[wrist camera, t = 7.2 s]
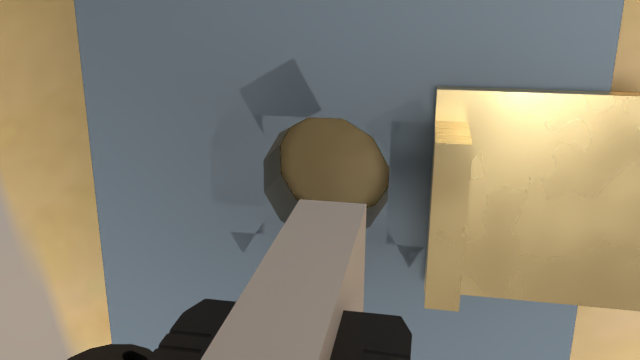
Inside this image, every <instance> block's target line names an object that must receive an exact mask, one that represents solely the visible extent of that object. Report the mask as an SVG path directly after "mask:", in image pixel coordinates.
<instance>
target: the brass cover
mask: <svg viewBox="0 0 640 360" xmlns="http://www.w3.org/2000/svg"><path fill="white" fill-rule="evenodd" d="M424 291H425V301H424V308H426V309H436V310H447V311H457V312H459V306H460V295H470V296H480V297H491V298H502V299H513V300H524V301H535V302H546V303H557V304H568V305H579V306H589V307H600V308H611V309H622V310H633V311H640V93H638V92H608V91H578V90H548V89H518V88H487V87H457V86H437V97H436V112H435V127H434V142H433V157H432V173H431V188H430V203H429V218H428V233H427V248H426V264H425V279H424Z"/></svg>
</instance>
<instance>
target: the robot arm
mask: <svg viewBox="0 0 640 360" xmlns="http://www.w3.org/2000/svg"><path fill="white" fill-rule="evenodd" d="M366 205H367V204H363V203H348V202H333V201H319V200H304V199H300V200H299V201H298V203H297V204H296V206H295V208H294V209H293V211H292V213H291V214H290V216H289V217H288V219H287V221H286V222H285V224H284V226H283V227H282V229H281V230H280V232H279V234H278V235H277V237H276V238H275V240H274V242H273V243H272V245H271V247H270V248H269V250H268V251H267V253H266V255H265V256H264V258H263V260H262V261H261V263H260V264H259V266H258V268H257V269H256V271H255V273H254V274H253V276H252V277H251V279H250V281H249V282H248V284H247V285H246V287H245V289H244V290H243V292H242V294H241V295H240V297H239V298H238V300H237V302H235V301H225V300H215V299H204V300H202V301H200V302H199V303H197V304H196V305H194V306H192V307H191V308H189V309H188V310H186V311H184V312H183V313H182V314H181V316H180V317H179V318H178V320H177V321H176V322H175V324H174V325H173V326H172V328H171V329H170V332H169V334H168V333H167V334H166V335H165V337H164V338H163V339H162V341H161V342H160V343H159V346H158V349H157V348H156V349H155V350H154V351H153V352H152V351H151V350H150V349H148V348H145V347H141V346H137V345H133V344H110V345H105V346H101V347H96V348H92V349H89V350H86V351H84V352H82V353H79V354H77V355H75V356H73V357H70V358H69V359H68V360H411V344H412V333H411V332H410V330H409V328H408V327H407V325H406V323H405V322H404V320H403V318H402V317H401V316H396V315H386V314H376V313H366V312H363V306H364V272H365V239H366Z"/></svg>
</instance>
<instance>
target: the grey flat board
mask: <svg viewBox="0 0 640 360" xmlns="http://www.w3.org/2000/svg"><path fill="white" fill-rule="evenodd" d="M74 5H75V14H76V23H77V32H78V41H79V50H80V59H81V68H82V77H83V86H84V95H85V104H86V113H87V122H88V131H89V140H90V149H91V158H92V167H93V177H94V186H95V195H96V204H97V213H98V222H99V231H100V240H101V249H102V258H103V267H104V276H105V285H106V294H107V303H108V312H109V321H110V330H111V339H112V344H133V345H137V346H141V347H145V348H148V349H150V350H151V351H152V352H153V351H154V350H155V349H156V348H157V349H158V346H159V343H160V342H161V341H162V339H163V338H164V337H165V335H166V334H167V333H168V334H169V332H170V329H171V328H172V326H173V325H174V324H175V322H176V321H177V320H178V318H179V317H180V316H181V314H182V313H183V312H184V311H186V310H188V309H189V308H191V307H192V306H194V305H196V304H197V303H199V302H200V301H202V300H204V299H215V300H225V301H235V302H237V300H238V298H239V297H240V295H241V294H242V292H243V290H244V289H245V287H246V285H247V284H248V282H249V281H250V279H251V277H252V276H253V274H254V273H255V271H256V269H257V268H258V266H259V264H260V263H261V261H262V260H263V258H264V256H265V255H266V253H267V251H268V250H269V248H270V247H271V245H272V243H273V242H274V240H275V238H276V237H277V235H278V234H279V232H280V230H281V229H282V227H283V226H284V224H285V222H286V221H287V219H288V217H289V216H290V214H291V213H292V211H293V209H294V208H295V206H296V204H297V203H298V200H297V199H295V197H294V195H293V194H292V192H291V190H290V189H289V187H288V185H287V183H286V182H285V180H284V178H283V176H282V175H281V155H280V144H281V142H282V141H283V139H284V137H285V135H286V134H287V132H288V130H289V129H290V127H291V126H293V125H295V124H297V123H299V122H301V121H302V120H304V119H306V118H308V117H313V118H336V119H344V120H346V121H347V122H349V123H351V124H352V125H354V126H355V127H357V128H359V129H360V130H362V131H363V132H365V133H367V134H368V135H370V136H371V137H373V139H374V141H375V142H376V144H377V146H378V148H379V150H380V152H381V153H382V155H383V157H384V159H385V161H386V163H387V165H388V166H389V185H388V188H387V189H386V191H385V192H384V193H383V195H382V196H381V198H380V199H379V201H378V202H377V204H376V205H374V206H371V207H369V208H367V209H366V239H365V272H364V306H363V312H366V313H376V314H386V315H396V316H401V317H402V318H403V320H404V322H405V323H406V325H407V327H408V328H409V330H410V332H411V333H412V344H411V360H569V359H570V353H571V346H572V340H573V333H574V327H575V320H576V314H577V307H578V305H568V304H557V303H546V302H535V301H524V300H513V299H502V298H491V297H480V296H470V295H460V306H459V312H457V311H447V310H436V309H426V308H424V301H425V291H424V279H425V264H426V248H427V233H428V218H429V203H430V188H431V173H432V157H433V142H434V127H435V112H436V97H437V86H457V87H487V88H518V89H548V90H578V91H608V92H610V91H611V84H612V78H613V71H614V65H615V58H616V52H617V45H618V39H619V32H620V25H621V19H622V12H623V6H624V0H74Z"/></svg>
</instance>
